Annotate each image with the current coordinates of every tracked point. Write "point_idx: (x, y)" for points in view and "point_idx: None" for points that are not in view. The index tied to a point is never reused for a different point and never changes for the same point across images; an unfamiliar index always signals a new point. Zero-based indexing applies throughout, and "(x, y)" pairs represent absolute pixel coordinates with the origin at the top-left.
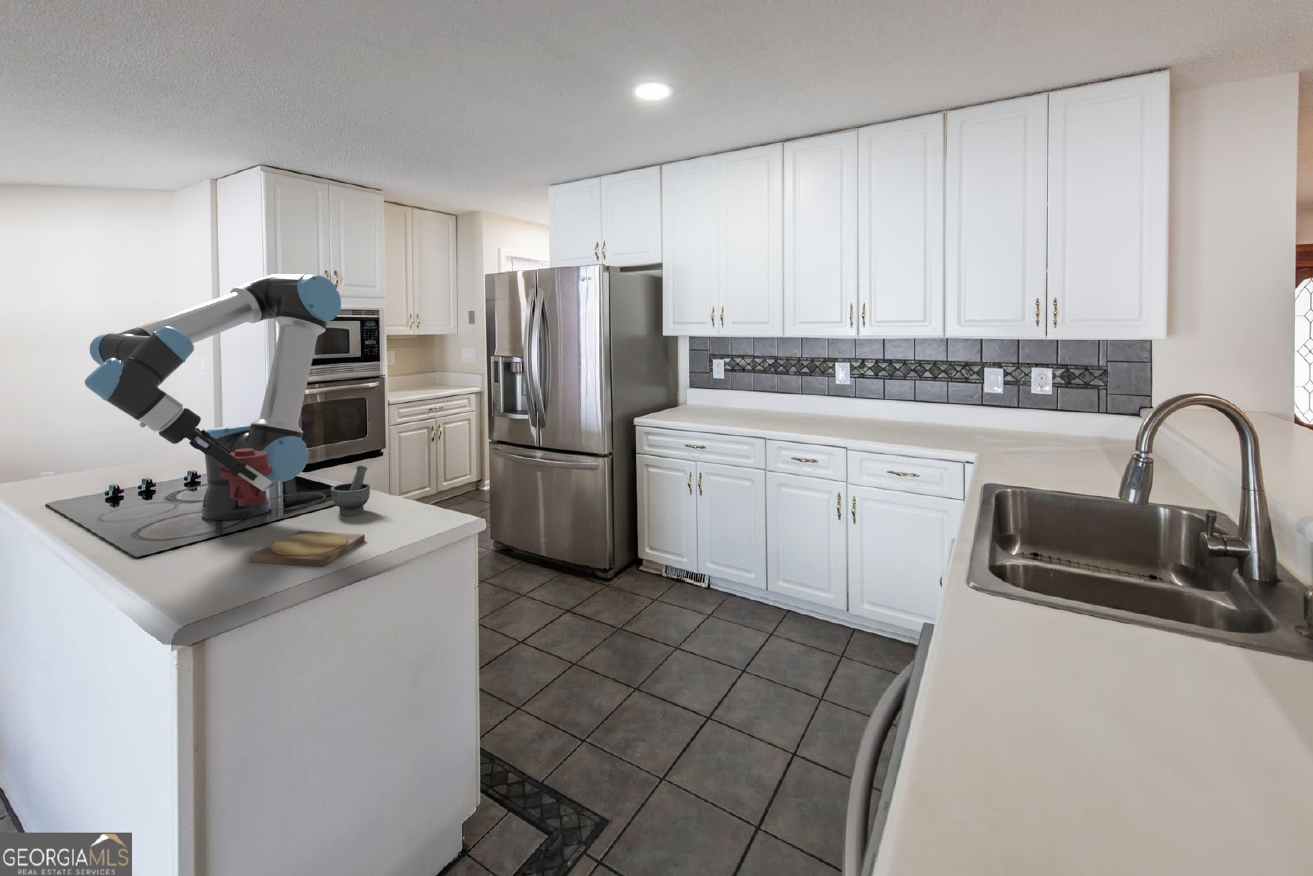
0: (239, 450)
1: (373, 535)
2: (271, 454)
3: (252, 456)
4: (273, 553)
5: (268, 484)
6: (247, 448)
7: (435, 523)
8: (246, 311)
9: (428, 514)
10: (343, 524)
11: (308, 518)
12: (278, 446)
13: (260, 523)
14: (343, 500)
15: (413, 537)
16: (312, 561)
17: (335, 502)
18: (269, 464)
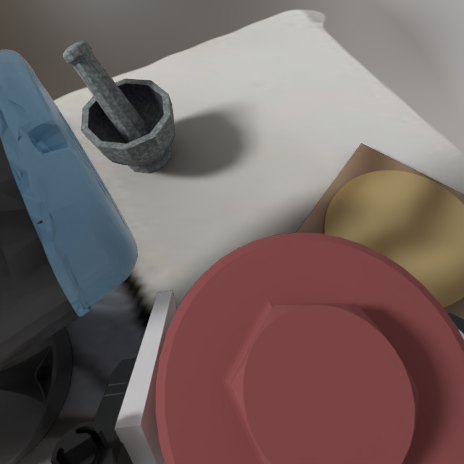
0: (346, 446)
1: (328, 136)
2: (112, 222)
3: (432, 327)
4: (451, 308)
5: None
6: (257, 361)
7: (294, 52)
8: None
9: (235, 54)
10: (232, 173)
11: (151, 228)
12: (82, 163)
13: (135, 326)
14: (165, 144)
15: (364, 87)
16: None
17: (145, 162)
18: (132, 253)
